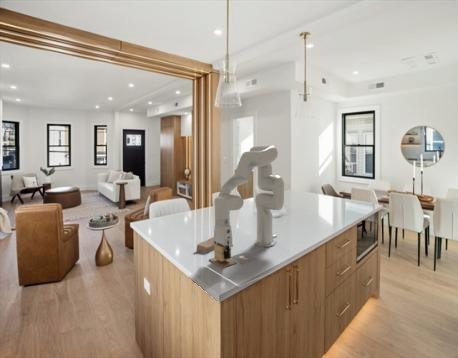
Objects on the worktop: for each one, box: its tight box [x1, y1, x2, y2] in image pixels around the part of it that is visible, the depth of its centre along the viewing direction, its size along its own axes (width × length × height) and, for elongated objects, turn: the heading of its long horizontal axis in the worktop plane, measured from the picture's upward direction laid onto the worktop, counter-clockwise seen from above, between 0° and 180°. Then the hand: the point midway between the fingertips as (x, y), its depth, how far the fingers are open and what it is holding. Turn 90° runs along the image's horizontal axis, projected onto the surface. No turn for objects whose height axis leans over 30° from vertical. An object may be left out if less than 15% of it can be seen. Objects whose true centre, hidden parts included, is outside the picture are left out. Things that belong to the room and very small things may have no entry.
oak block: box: [213, 243, 232, 262], centre depth 131 cm, size 6×6×7 cm
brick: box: [196, 236, 215, 254], centre depth 152 cm, size 17×8×5 cm, turn 145°
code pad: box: [231, 251, 259, 265], centre depth 136 cm, size 11×11×1 cm
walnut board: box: [208, 257, 238, 269], centre depth 131 cm, size 9×12×1 cm
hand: (222, 255), depth 131 cm, fingers closed on oak block, 6 cm apart
